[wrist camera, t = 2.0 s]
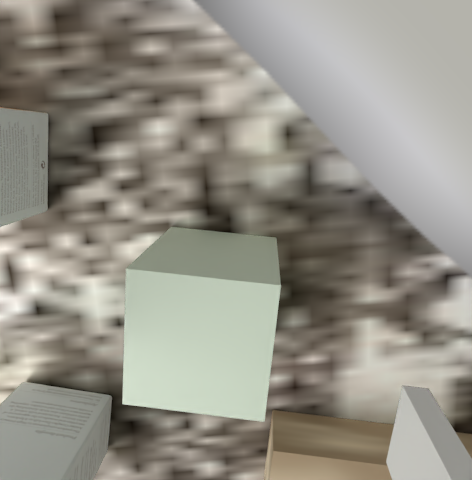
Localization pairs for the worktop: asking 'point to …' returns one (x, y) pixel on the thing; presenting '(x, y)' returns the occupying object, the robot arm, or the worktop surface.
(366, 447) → the birch block
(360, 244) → the worktop surface
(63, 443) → the skincare box
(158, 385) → the sage block
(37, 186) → the small box
